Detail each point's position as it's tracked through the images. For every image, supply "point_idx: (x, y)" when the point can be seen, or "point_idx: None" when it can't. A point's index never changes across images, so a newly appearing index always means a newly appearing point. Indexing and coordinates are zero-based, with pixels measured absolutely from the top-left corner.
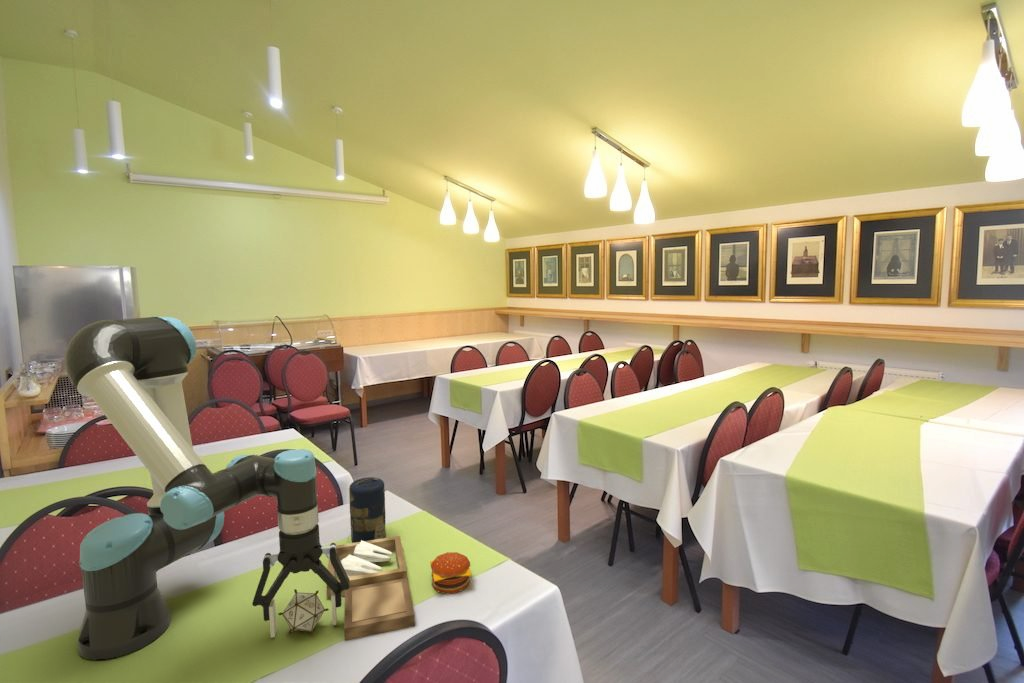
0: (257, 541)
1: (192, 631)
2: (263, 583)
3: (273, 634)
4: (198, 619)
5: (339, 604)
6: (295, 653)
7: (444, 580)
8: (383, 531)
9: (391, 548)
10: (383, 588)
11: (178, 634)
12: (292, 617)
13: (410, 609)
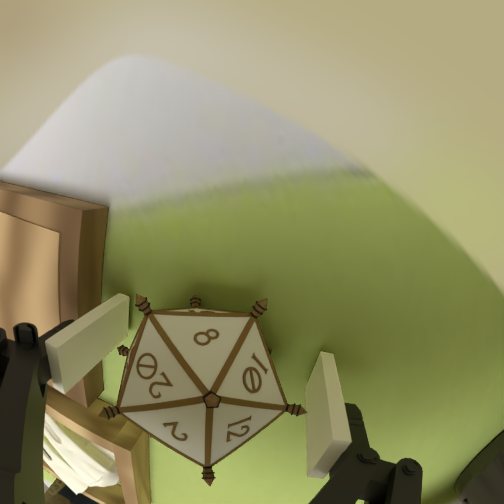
0: None
1: (456, 444)
2: None
3: (325, 357)
4: (432, 470)
5: (68, 324)
6: (267, 230)
7: None
8: (53, 482)
9: None
10: (8, 334)
11: (474, 440)
12: (249, 359)
13: None
